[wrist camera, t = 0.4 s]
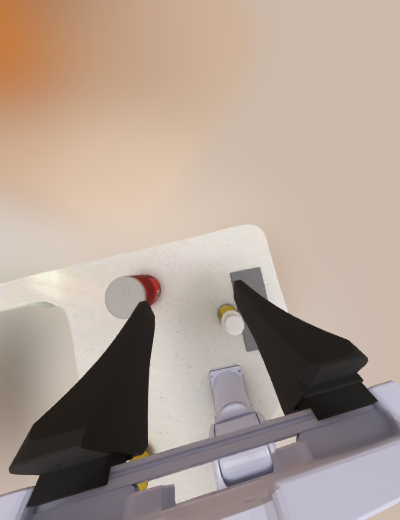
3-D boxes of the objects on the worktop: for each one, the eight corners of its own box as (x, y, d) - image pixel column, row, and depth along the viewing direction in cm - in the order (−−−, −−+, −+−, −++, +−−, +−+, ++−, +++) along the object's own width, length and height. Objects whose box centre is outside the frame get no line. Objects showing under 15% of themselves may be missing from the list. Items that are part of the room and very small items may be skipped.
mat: (277, 344, 36) (278, 345, 36) (246, 350, 36) (247, 351, 35) (259, 267, 38) (260, 267, 37) (229, 273, 38) (230, 273, 37)
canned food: (154, 270, 38) (135, 269, 27) (166, 297, 37) (151, 308, 26) (127, 282, 38) (97, 286, 27) (139, 310, 37) (113, 326, 26)
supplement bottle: (215, 307, 37) (219, 317, 29) (232, 301, 37) (241, 310, 29) (221, 325, 37) (227, 341, 28) (238, 319, 37) (249, 333, 28)
